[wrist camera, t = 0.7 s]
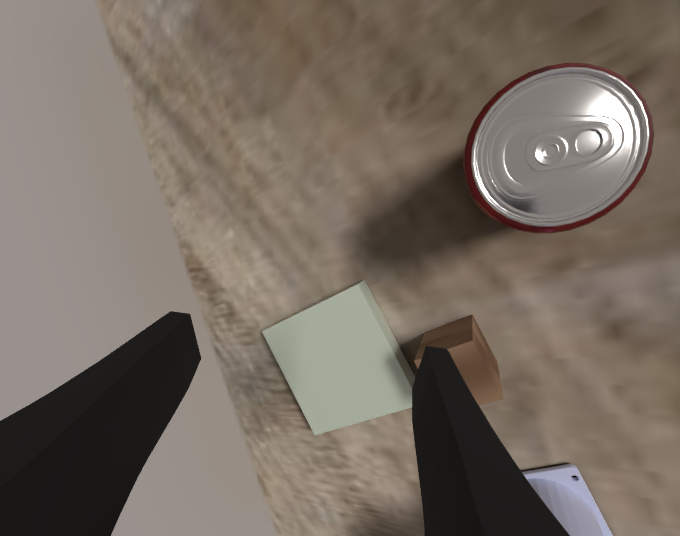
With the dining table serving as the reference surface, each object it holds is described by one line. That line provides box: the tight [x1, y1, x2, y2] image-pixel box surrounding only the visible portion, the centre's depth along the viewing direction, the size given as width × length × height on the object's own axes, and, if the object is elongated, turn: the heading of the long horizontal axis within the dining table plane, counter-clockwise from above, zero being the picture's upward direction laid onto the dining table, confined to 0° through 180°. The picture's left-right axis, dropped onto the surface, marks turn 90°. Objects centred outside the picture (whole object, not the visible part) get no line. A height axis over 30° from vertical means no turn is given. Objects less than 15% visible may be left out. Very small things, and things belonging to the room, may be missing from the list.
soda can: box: [463, 63, 654, 233], centre depth 20 cm, size 7×7×12 cm
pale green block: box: [262, 280, 415, 435], centre depth 32 cm, size 12×12×2 cm
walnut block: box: [414, 315, 503, 405], centre depth 26 cm, size 4×4×6 cm
